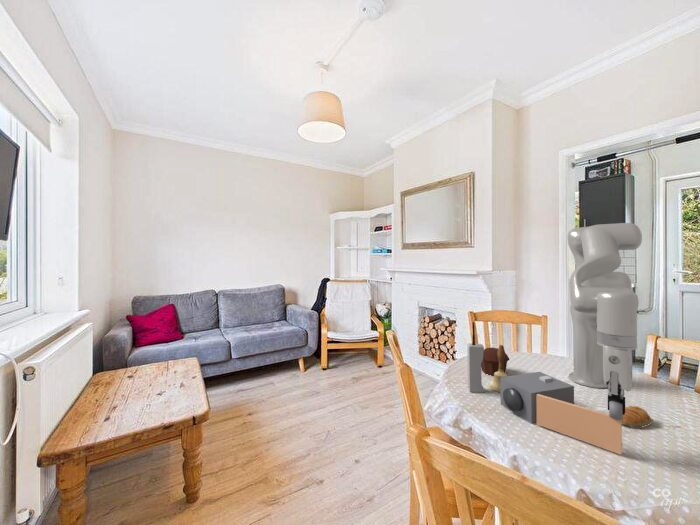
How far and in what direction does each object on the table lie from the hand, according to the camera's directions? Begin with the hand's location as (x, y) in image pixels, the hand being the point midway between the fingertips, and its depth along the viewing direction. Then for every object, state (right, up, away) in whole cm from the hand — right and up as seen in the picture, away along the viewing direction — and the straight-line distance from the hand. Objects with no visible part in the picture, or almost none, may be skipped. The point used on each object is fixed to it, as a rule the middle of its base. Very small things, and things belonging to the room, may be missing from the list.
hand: (616, 411), depth 75 cm
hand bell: (-12, -9, +35) cm, 38 cm away
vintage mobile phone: (-22, -9, +33) cm, 40 cm away
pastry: (+15, -9, +11) cm, 21 cm away
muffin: (-7, -9, +49) cm, 50 cm away
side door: (-8, -9, +4) cm, 12 cm away
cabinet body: (-9, -9, +19) cm, 23 cm away
